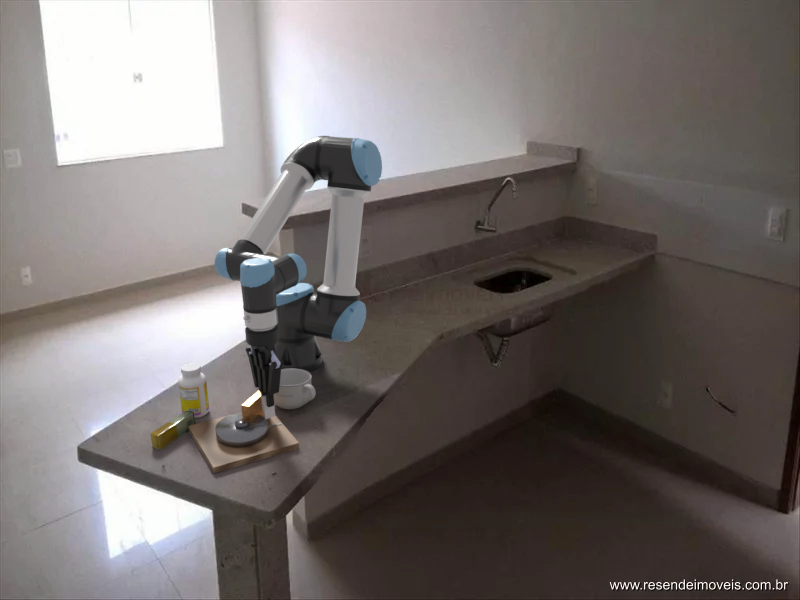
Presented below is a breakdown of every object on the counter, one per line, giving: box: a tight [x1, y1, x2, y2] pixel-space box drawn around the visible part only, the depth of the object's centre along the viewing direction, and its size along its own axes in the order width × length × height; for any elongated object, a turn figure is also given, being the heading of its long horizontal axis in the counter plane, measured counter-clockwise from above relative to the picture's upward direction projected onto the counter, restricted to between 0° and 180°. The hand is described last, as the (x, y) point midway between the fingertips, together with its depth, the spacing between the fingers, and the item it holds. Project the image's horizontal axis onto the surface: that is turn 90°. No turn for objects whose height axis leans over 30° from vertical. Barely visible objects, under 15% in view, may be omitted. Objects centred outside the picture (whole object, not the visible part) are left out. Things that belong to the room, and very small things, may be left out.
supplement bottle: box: [177, 362, 210, 419], centre depth 182 cm, size 7×7×13 cm
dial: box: [215, 389, 268, 447], centre depth 173 cm, size 16×12×6 cm
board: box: [188, 411, 300, 474], centre depth 172 cm, size 20×20×2 cm
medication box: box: [150, 411, 197, 450], centre depth 173 cm, size 12×3×4 cm, turn 152°
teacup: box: [274, 368, 317, 410], centre depth 186 cm, size 14×11×8 cm
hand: (269, 416), depth 176 cm, fingers closed
